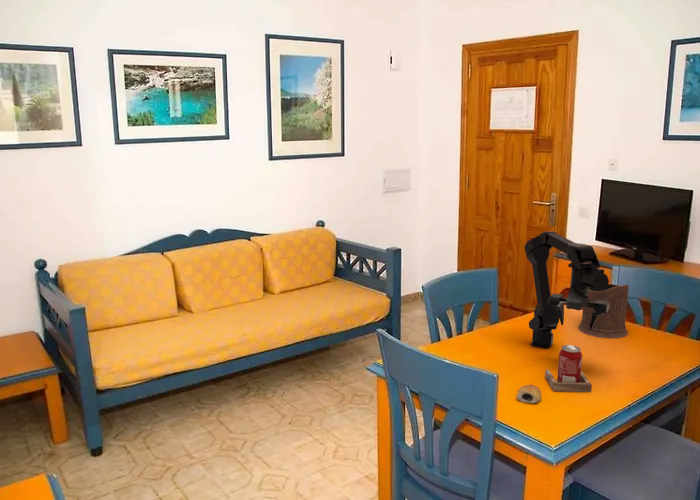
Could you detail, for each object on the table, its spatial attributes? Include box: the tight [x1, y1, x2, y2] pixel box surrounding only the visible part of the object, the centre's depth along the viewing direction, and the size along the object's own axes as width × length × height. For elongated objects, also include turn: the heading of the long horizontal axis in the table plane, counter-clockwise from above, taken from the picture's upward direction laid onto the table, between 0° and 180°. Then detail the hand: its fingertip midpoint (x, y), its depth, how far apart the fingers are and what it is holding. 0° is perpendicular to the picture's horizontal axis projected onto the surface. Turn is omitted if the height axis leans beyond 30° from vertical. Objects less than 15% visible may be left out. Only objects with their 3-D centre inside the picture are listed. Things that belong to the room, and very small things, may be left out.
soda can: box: [556, 344, 583, 383], centre depth 192 cm, size 7×7×12 cm
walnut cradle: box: [544, 369, 593, 393], centre depth 193 cm, size 11×11×2 cm
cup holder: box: [577, 263, 630, 340], centre depth 242 cm, size 18×24×25 cm
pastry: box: [515, 384, 542, 404], centre depth 184 cm, size 9×7×4 cm
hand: (576, 327), depth 207 cm, fingers open, 9 cm apart
